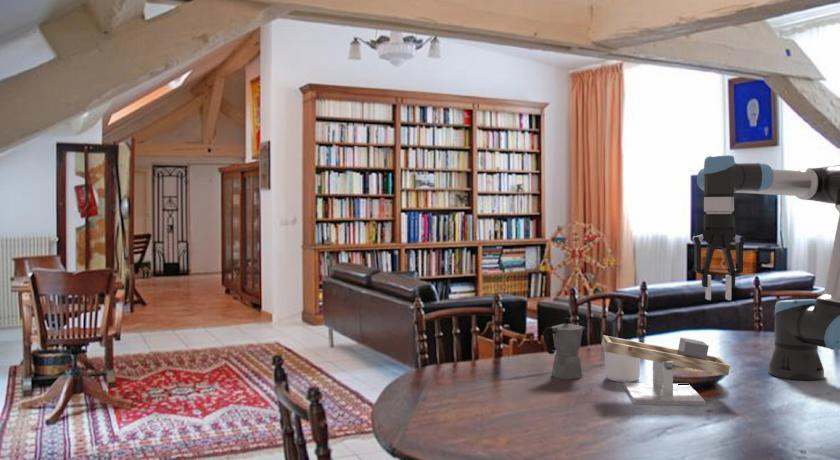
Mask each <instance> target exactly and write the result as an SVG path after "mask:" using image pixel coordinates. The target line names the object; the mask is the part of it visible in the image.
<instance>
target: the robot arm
mask: <svg viewBox="0 0 840 460" xmlns="http://www.w3.org/2000/svg"><path fill="white" fill-rule="evenodd" d="M696 184H697V187H698V188H699V189H701V191H703V212H705V214H704V215H703V230H702V232H701V234H700V235H696V236H695V235H694V236H692V237H691V240H692V243H693V248H694V249H693V250H694V251H693V253H694V254H693V255H694V256H693V258H694V259H693V261H694V262H693V263H694V264H693V265H694V272H695V273H697V274H700V275H701V286H702V288H704V289H705V290H704V291H705V300H707V301H711V300H712V275H710V274H709V273H710V268H711V264H712V260H713V256H714V253H715V250H716V249H717V248H721V249H722V252H723V256H724V260H725V264H726V268H727V274H725V288H724V289H725V293H724V294H725V300H727V301H732V288H735V287H736V276H737V275H739V274H742V273H743V272H744V244H745V242H746V239H747V238H746V237H745V236H742V235H739V234H737V233H736V231H735V229H734V228H735V215H734V213H733V212H735V193H736V194H758V195H771V196H772V195H773V196H789V197H790V196H793V197H796V198H797V199H799V200H804V201H812V202H813V201H814V202H819V203H825V204H832V205H833V204H834V208H835V209H836V210H837V211H838V213H839V217H838V220H837V221H838V222H837V226H836V230H835V234H834V235H835V236H834V241H833V246H832V250H831V255H830V260H829V266H828V269H827V270H828V271H827V275H826V280H825V283H824V285H825V286H824V289H823V294H821V295H819V296H818V297H816V299H814V298H813V299H807V298H806V299H805V298H804V299H803V298H802V299H785V300H784V299H782V300H778V301H777V302H775V305H774V313H773V317H774V321H773V322H774V324H773V325H774V329H773V330H774V348H773V350H772V354H771V357H770V359H769V361H768V365H767V373H768V374H770V375H772V376H774V377H778V378H782V379H783V378H784V379H787V380H795V381H797V380H798V381H817V380H822V379H824V378H825V368H824V365H823V364H822V360H821V357H820V355H819V352H818V351H819V350H818V349H819V348H818V347H821V348H826V349H829V350H831V351H836V352H837V351H840V164H839V165H837V164H836V165H830V166H823V167H813V168H811V167H810V168H809V167H804V168H803V167H802V168H801V169H799V170H788V169H775V168H772V167H771V166H770V165H769V164H767V163H759V162H749V163H747V162H746V163H745V162H744V163H738V162H736V161H735V157H734V156H733V155H727V154H725V155H723V154H720V155H719V154H718V155H709V156H706V157H705V158H704V163H703V168H701V169H700V170H699V171H698V173H697V175H696ZM703 240H704V241H705V243H706V244H707V246H706V252H705V257H704V260H703V263H702V243H703ZM733 240H734V242H735V243H736V244H735V264H734V260H733V256H732V252H731V249H732V248H731V245H730V244H731V243H732V242H733Z"/></svg>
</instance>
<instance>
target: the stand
mask: <svg viewBox="0 0 840 460" xmlns="http://www.w3.org/2000/svg"><path fill="white" fill-rule="evenodd" d="M678 384H679V383H674V365H673V361H672V360H662V363H661V362H656V361H652V382H623V388H624V390H625V392H627V394H628V397H629V398H630V399H631V401H632V402H633V404H634V405H656V406H657V405H662V406H694V407H695V406H697V407H698V406H699V407H700V406H701V407H702V406H703V407H706V406H707V405H706V400H705V399H704V397H702V396H701V395H700V394H699V393H698V392H697V391H696V390H695V389H694V388H693V387H692V386H691V385H690V384H689V385H678Z"/></svg>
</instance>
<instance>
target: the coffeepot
mask: <svg viewBox="0 0 840 460" xmlns="http://www.w3.org/2000/svg"><path fill="white" fill-rule="evenodd" d="M563 320H564V323H561V324H557V325H553V326H550V327H549V326H547V327H546V328H545V329H544V331H543V332H542V337H543V341H544V343H545V347H546V350H547V354H549V355H553V354H554V358H553V359H554V360H553V364H552V372H551V376H553V378H556V379H559V380H578V379H580V378H582V377H583V370H582V364H581V360H580V356H579V350H580V348H581V342H582V336H583V331H584V330H585V328H586V327H585V326H582V325H577V324H572V323H570V318H569V317H564V319H563ZM549 334H552V338H553V344H554V348H555V350H552V344H551V342H550V337H549Z"/></svg>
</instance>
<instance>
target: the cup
mask: <svg viewBox="0 0 840 460" xmlns="http://www.w3.org/2000/svg"><path fill="white" fill-rule="evenodd" d="M640 360H641V359H640V358H635V357H630V356H625V355H620V354H615V353H610V352H606V351H605V350H604V376H605V377H606V378H607V379H608V380H609V381H613V382H618V383H635V382H637V381H638V380H639V379H640V374H641V373H640V372H641V371H640V370H641V369H640V368H641V366H640V365H641V361H640Z"/></svg>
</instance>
